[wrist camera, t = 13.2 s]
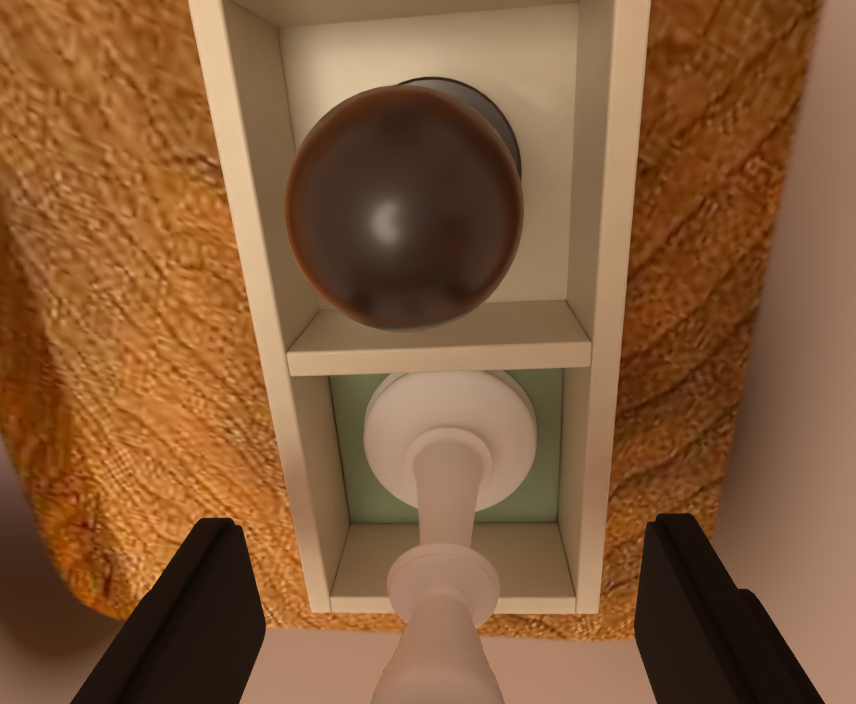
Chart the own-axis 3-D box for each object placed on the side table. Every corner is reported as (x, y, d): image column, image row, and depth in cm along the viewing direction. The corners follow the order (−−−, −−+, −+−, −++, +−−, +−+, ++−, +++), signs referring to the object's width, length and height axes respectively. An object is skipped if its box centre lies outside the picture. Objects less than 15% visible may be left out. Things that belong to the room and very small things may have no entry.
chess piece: (421, 524, 16) (369, 1029, 7) (330, 403, 15) (118, 842, 6) (566, 460, 15) (728, 969, 6) (483, 320, 14) (529, 712, 4)
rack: (602, -26, 11) (660, -92, 8) (572, 520, 17) (599, 615, 14) (256, 4, 12) (177, -45, 9) (338, 523, 18) (310, 613, 14)
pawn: (410, 40, 11) (312, -137, 4) (553, 151, 12) (701, 182, 5) (320, 195, 13) (119, 285, 5) (452, 287, 14) (441, 481, 6)
